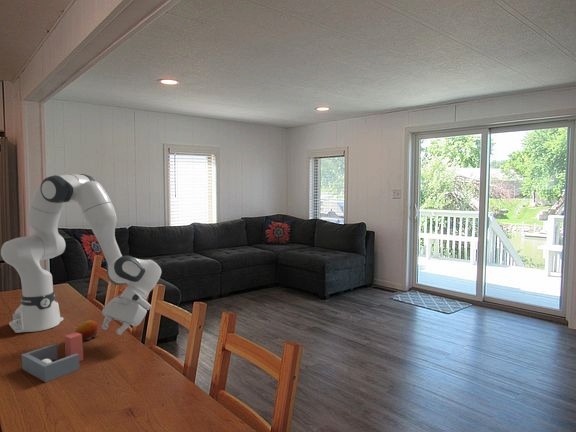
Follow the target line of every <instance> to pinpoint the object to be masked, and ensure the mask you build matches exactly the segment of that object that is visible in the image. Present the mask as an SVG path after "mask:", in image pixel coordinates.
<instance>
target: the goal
mask: <svg viewBox="0 0 576 432" xmlns="http://www.w3.org/2000/svg"><path fill="white" fill-rule="evenodd" d="M20 355H21V367H22V370H23V371H25V372H26V373H28V374H30V375H32V376H34V377H35V378H37V379H39V380H41V381H43V382H44V383H48V382H51V381H53V380H56V379H58V378H61V377H64V376H66V375H68V374H71V373H74V372H76V371H79V370H80V369H81V368H80V367H81V366H80V361H79V354H77V353H76V354H73V355H71V356H68V357H66V356H65V357H63V358H60V359H59V357H58V344H56V343H53V344H49V345H46V346H44V347H40V348H37V349H34V350H31V351H28V352H25V353H22V354H20ZM44 359H50V360H51V361H52V362H51V363H48V364H47V363H45V362H43V361H42V360H44ZM54 360H55V361H54Z"/></svg>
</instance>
